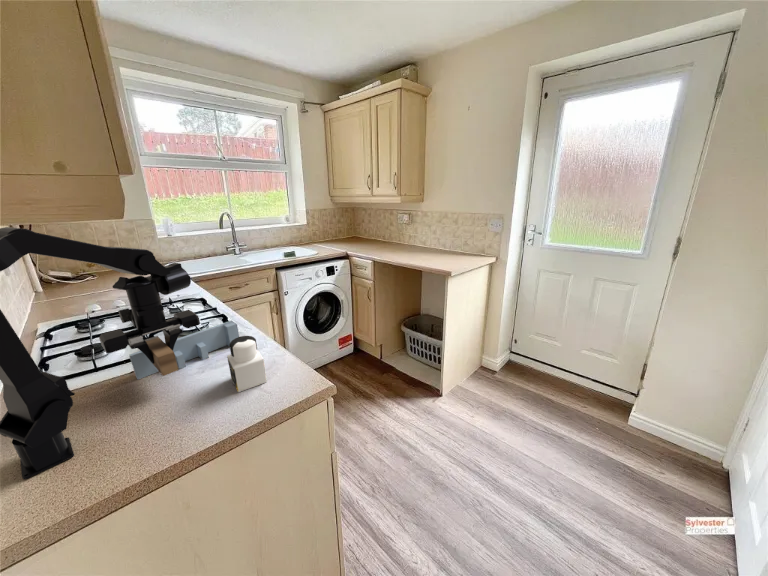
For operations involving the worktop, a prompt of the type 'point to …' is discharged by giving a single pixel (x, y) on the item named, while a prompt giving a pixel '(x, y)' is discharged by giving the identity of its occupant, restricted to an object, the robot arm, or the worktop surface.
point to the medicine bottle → (246, 363)
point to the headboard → (189, 347)
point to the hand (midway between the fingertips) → (161, 359)
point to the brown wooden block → (162, 356)
